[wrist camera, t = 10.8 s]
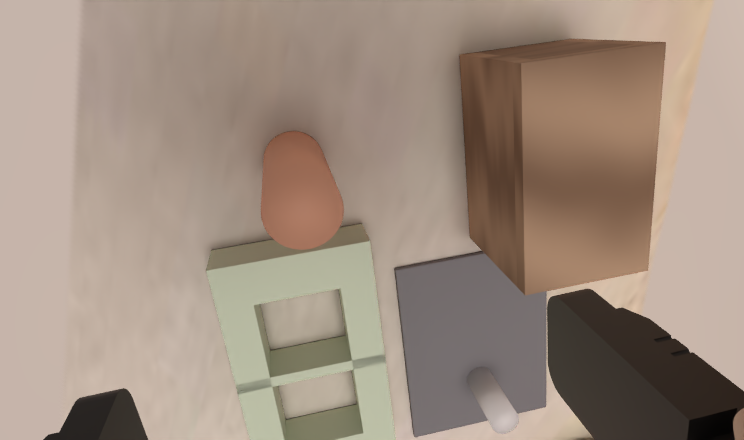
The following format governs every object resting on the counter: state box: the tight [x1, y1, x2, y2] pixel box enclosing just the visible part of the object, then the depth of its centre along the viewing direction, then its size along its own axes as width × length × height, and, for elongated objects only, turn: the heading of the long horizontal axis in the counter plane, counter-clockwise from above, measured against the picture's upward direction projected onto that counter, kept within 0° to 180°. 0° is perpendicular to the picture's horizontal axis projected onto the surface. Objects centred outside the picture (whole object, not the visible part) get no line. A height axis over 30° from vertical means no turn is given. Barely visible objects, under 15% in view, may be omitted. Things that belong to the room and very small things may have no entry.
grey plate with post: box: [395, 252, 546, 437], centre depth 30 cm, size 12×9×4 cm
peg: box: [261, 131, 344, 250], centre depth 23 cm, size 3×3×8 cm
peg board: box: [206, 224, 396, 440], centre depth 29 cm, size 14×8×2 cm, turn 7°
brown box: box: [460, 39, 666, 295], centre depth 25 cm, size 10×6×7 cm, turn 7°
